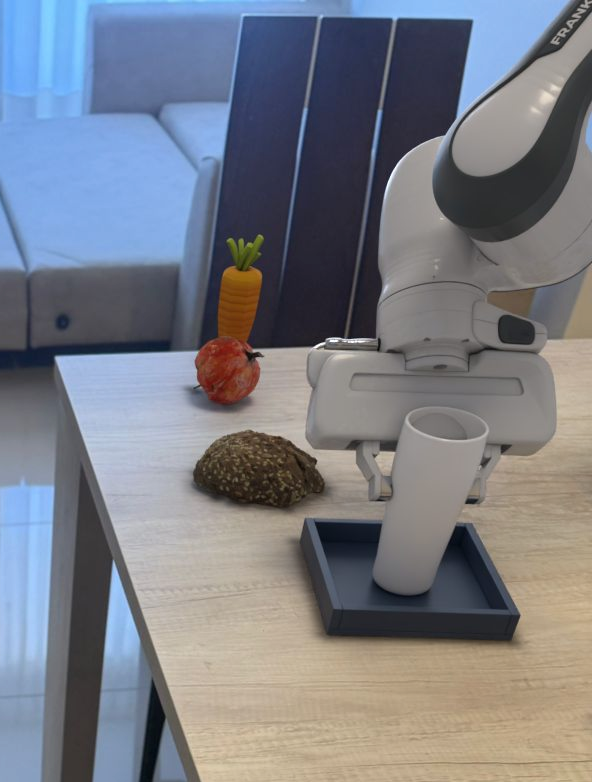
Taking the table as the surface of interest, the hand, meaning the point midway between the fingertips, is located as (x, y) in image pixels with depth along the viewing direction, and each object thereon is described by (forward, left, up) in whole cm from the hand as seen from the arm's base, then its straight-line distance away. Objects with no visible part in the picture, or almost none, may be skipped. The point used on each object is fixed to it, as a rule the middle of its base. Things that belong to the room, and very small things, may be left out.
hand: (426, 501), depth 97 cm
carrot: (+10, -51, -9) cm, 52 cm away
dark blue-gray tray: (0, -1, -9) cm, 9 cm away
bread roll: (+10, -21, -9) cm, 25 cm away
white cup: (0, -1, -9) cm, 9 cm away
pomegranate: (+12, -41, -9) cm, 43 cm away
